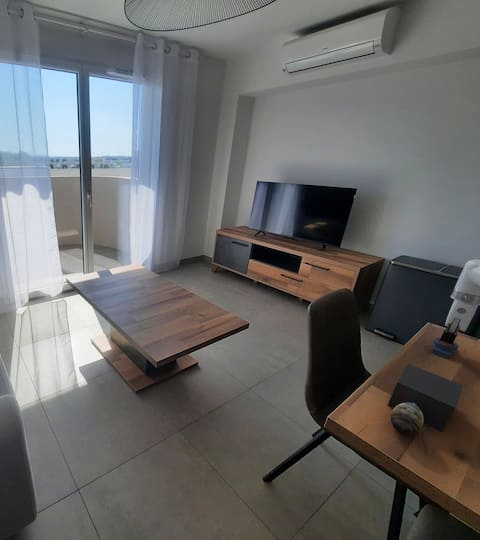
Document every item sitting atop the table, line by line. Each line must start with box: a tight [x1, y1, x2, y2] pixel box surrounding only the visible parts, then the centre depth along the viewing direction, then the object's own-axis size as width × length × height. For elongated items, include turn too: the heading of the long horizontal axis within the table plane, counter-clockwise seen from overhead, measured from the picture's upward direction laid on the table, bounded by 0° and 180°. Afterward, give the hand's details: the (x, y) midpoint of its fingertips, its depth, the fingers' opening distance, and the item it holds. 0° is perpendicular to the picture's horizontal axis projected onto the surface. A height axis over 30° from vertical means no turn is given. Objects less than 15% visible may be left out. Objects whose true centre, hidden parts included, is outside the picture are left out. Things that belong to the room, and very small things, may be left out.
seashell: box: [390, 403, 424, 436], centre depth 74 cm, size 10×6×8 cm, turn 125°
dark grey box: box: [387, 363, 464, 433], centre depth 80 cm, size 12×11×8 cm
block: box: [431, 337, 460, 360], centre depth 104 cm, size 10×6×4 cm, turn 127°
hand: (446, 341), depth 104 cm, fingers closed
